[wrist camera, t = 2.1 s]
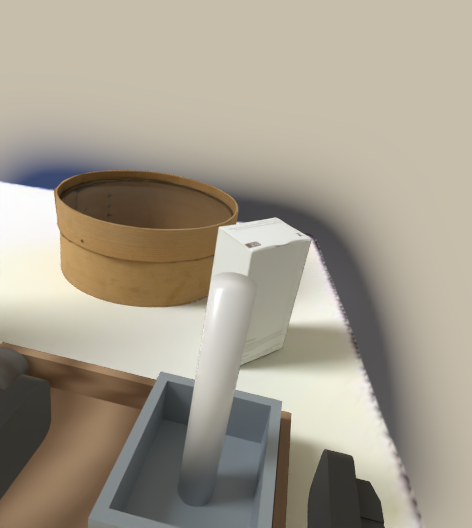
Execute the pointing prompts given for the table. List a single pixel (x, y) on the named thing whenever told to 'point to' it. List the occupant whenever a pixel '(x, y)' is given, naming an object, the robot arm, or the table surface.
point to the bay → (87, 440)
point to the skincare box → (264, 276)
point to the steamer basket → (140, 235)
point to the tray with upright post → (200, 437)
